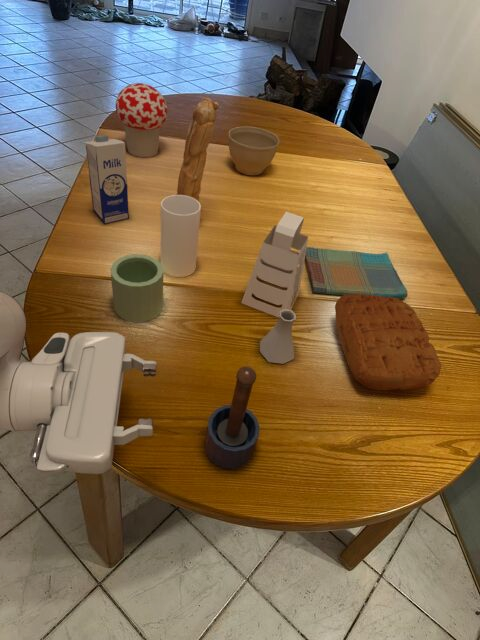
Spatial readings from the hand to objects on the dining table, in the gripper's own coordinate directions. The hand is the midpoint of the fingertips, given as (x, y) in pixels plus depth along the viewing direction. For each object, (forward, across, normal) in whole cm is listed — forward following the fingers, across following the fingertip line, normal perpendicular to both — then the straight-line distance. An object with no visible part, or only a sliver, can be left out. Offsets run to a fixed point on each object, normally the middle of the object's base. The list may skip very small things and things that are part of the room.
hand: (154, 396), depth 57 cm
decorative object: (-9, +106, +14) cm, 107 cm away
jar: (-5, +31, +13) cm, 34 cm away
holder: (+12, -1, +13) cm, 18 cm away
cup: (+3, +45, +13) cm, 47 cm away
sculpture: (+6, +66, +13) cm, 67 cm away
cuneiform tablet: (+44, +20, +13) cm, 50 cm away
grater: (+24, +36, +13) cm, 45 cm away
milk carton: (-14, +65, +13) cm, 68 cm away
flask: (+23, +20, +13) cm, 33 cm away
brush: (+12, -1, +12) cm, 17 cm away
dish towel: (+46, +45, +13) cm, 66 cm away
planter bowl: (+26, +99, +14) cm, 104 cm away
